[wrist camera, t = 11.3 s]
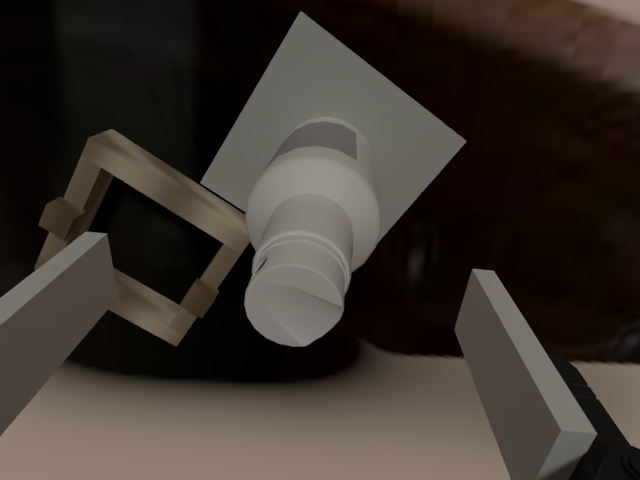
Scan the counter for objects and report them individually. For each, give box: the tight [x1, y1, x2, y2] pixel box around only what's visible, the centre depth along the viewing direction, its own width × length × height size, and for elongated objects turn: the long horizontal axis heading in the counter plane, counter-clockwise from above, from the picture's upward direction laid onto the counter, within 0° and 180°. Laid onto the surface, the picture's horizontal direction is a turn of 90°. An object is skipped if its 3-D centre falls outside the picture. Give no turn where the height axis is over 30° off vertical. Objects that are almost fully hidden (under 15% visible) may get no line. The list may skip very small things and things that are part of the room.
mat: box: [200, 11, 467, 243], centre depth 30 cm, size 14×14×1 cm
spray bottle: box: [244, 117, 382, 347], centre depth 22 cm, size 7×7×18 cm
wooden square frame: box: [34, 129, 250, 346], centre depth 32 cm, size 14×13×4 cm
